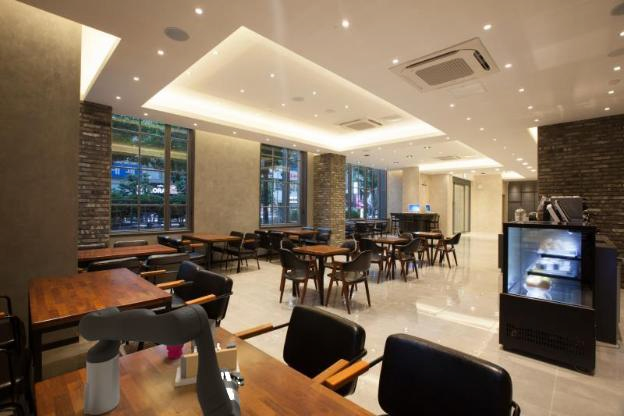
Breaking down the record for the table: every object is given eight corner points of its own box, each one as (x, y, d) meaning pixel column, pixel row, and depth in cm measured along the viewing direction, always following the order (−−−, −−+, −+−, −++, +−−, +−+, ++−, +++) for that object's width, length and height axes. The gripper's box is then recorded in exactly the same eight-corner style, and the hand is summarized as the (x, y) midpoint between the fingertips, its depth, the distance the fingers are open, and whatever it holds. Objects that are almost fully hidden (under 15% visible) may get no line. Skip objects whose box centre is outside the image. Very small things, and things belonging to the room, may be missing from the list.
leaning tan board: (180, 378, 116) (180, 358, 116) (180, 374, 119) (180, 354, 119) (236, 369, 124) (236, 349, 123) (236, 365, 126) (236, 346, 126)
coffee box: (190, 359, 134) (190, 323, 133) (196, 352, 140) (197, 318, 140) (209, 360, 133) (210, 324, 132) (215, 353, 139) (216, 319, 139)
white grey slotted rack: (174, 386, 114) (175, 359, 114) (177, 371, 125) (177, 345, 124) (239, 375, 122) (239, 349, 122) (236, 361, 133) (237, 337, 132)
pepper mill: (167, 352, 140) (167, 309, 139) (184, 350, 142) (184, 308, 141) (165, 360, 133) (165, 315, 132) (182, 358, 135) (183, 313, 134)
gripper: (249, 385, 93) (242, 356, 109) (203, 393, 88) (203, 362, 104) (248, 409, 93) (242, 376, 109) (202, 418, 88) (203, 383, 105)
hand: (223, 369), depth 107 cm, fingers closed
